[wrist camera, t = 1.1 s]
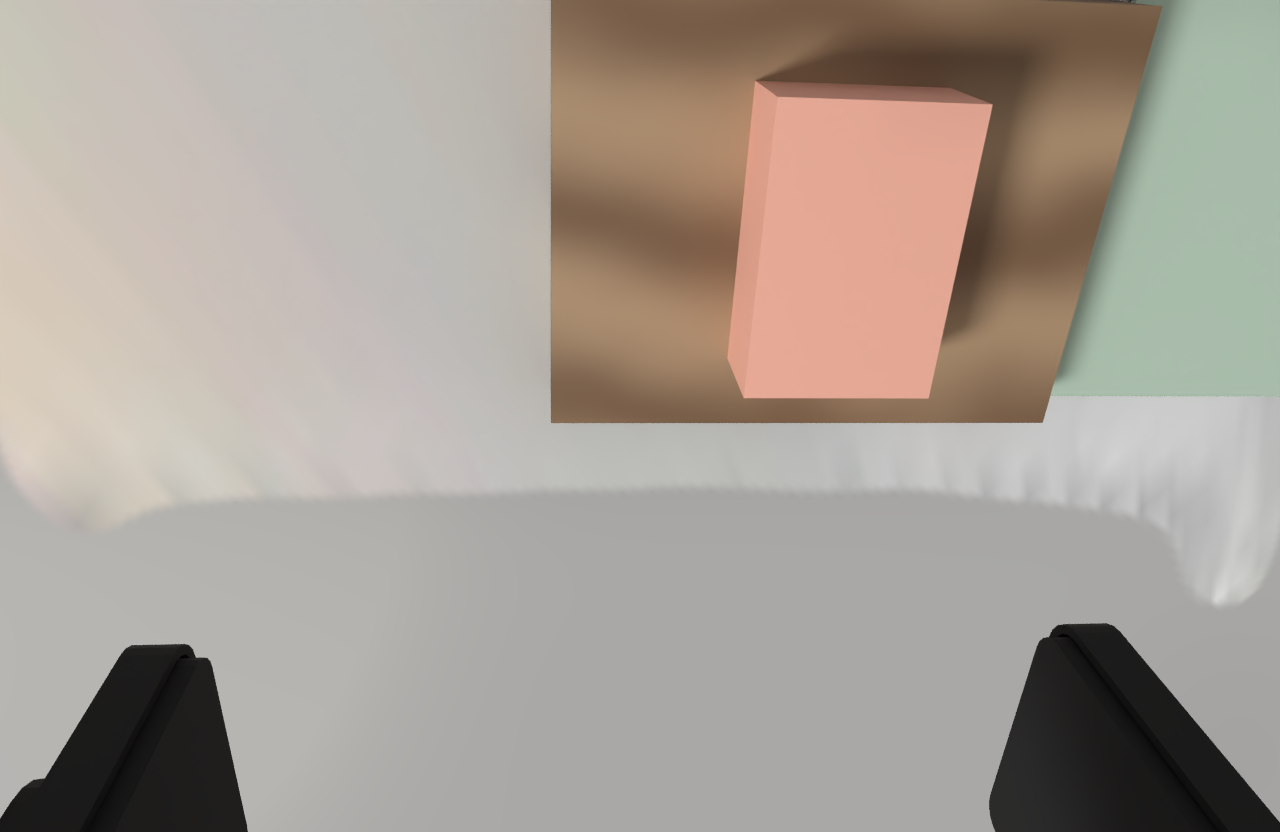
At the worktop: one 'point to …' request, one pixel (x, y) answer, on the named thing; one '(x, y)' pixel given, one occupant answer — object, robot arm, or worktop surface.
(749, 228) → the pink rectangular block
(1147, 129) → the mat
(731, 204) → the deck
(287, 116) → the worktop surface
